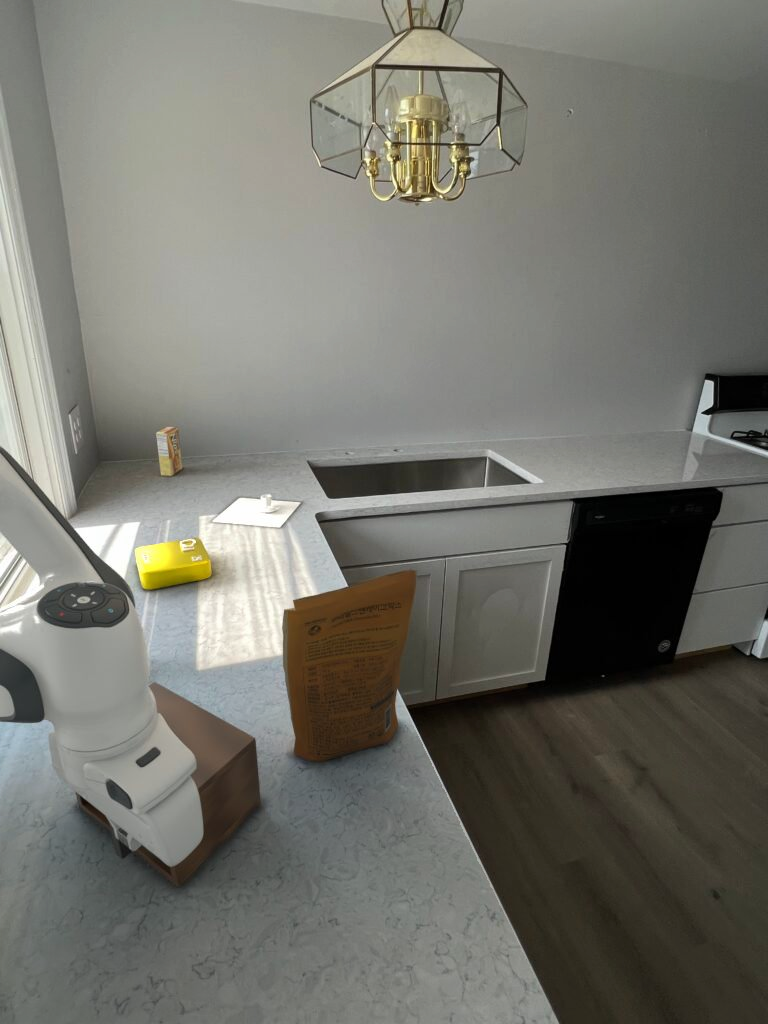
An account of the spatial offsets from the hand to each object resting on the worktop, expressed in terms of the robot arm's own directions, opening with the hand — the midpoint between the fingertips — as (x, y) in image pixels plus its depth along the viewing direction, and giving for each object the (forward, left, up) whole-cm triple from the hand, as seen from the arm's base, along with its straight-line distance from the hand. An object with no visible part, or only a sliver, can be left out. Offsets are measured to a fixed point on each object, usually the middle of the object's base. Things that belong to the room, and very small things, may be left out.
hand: (131, 840), depth 59 cm
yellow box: (-5, +76, -7) cm, 77 cm away
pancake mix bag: (+26, +15, -7) cm, 31 cm away
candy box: (-14, +153, -7) cm, 154 cm away
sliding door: (-2, +5, -6) cm, 8 cm away
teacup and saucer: (+15, +110, -7) cm, 112 cm away
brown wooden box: (+2, +10, -7) cm, 13 cm away
